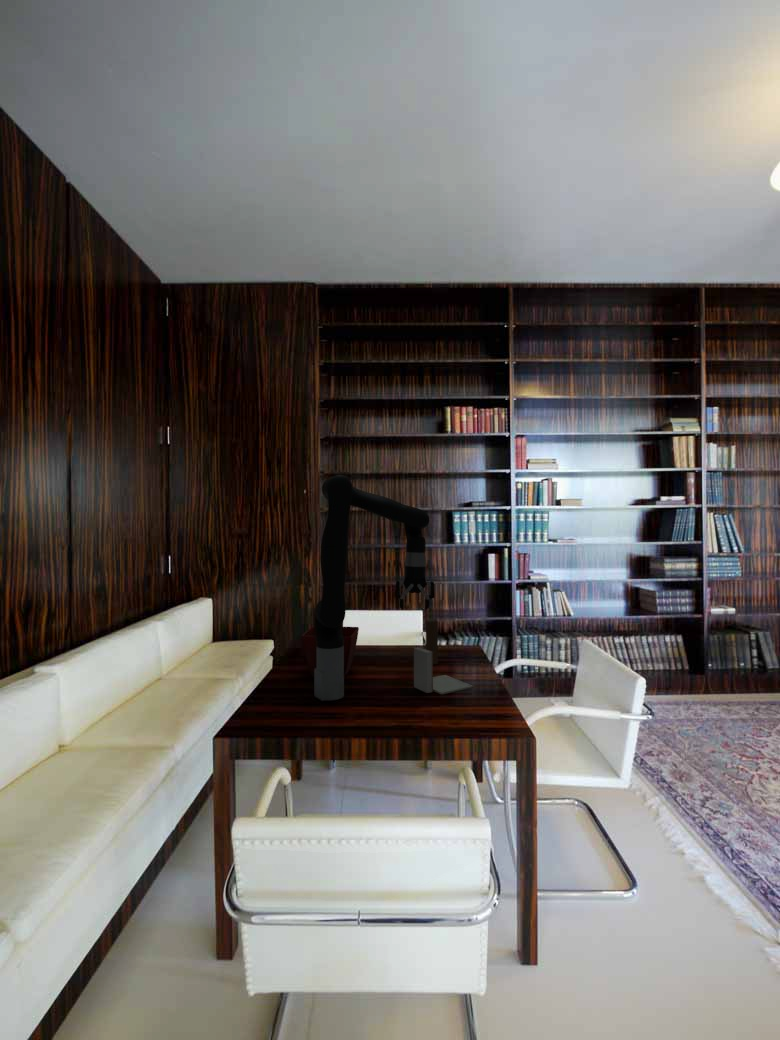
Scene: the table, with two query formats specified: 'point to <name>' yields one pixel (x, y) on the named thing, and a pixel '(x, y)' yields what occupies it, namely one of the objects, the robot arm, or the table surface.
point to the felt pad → (448, 684)
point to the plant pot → (311, 648)
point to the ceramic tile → (423, 669)
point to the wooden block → (432, 638)
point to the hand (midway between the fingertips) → (414, 609)
